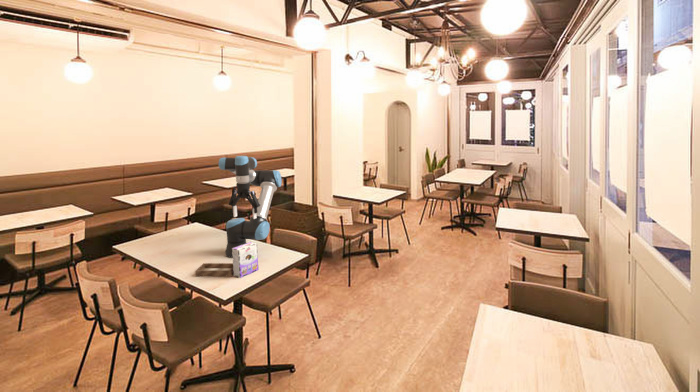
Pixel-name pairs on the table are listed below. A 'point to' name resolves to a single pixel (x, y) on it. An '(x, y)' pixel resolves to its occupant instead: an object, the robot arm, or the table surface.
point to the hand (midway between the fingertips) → (245, 217)
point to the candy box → (245, 259)
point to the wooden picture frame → (215, 270)
